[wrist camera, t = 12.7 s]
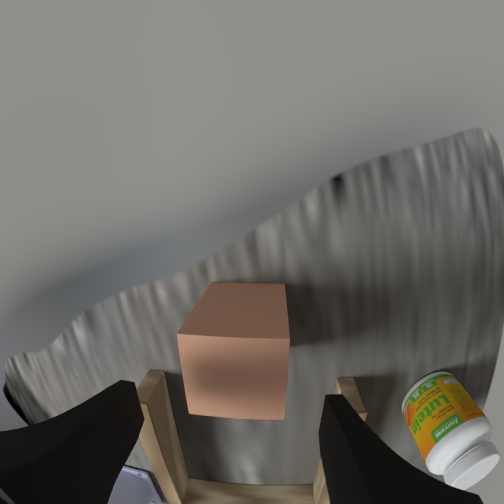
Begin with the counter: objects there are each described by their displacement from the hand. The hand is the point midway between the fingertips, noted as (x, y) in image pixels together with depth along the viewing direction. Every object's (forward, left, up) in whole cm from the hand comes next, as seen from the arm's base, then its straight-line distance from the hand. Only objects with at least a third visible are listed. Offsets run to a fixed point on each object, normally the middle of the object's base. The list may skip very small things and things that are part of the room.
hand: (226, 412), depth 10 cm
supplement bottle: (+15, -8, -9) cm, 19 cm away
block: (0, 0, -9) cm, 9 cm away
